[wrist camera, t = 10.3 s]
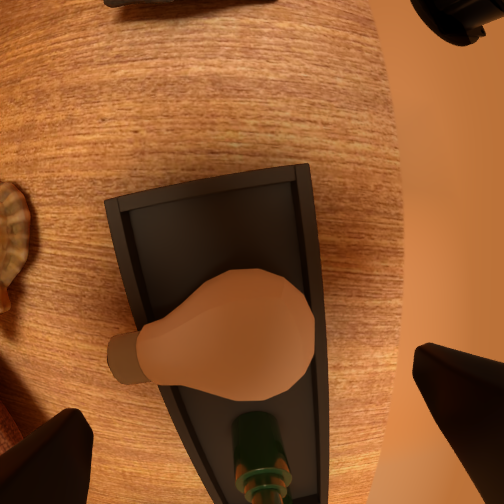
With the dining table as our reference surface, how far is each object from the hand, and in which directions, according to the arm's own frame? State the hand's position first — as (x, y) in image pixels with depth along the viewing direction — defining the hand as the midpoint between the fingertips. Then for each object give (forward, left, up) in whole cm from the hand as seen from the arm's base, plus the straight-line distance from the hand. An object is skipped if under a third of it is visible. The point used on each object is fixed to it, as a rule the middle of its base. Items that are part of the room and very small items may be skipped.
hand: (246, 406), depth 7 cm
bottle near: (+3, +12, -11) cm, 17 cm away
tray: (+2, +10, -12) cm, 16 cm away
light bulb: (+3, +2, -11) cm, 11 cm away
